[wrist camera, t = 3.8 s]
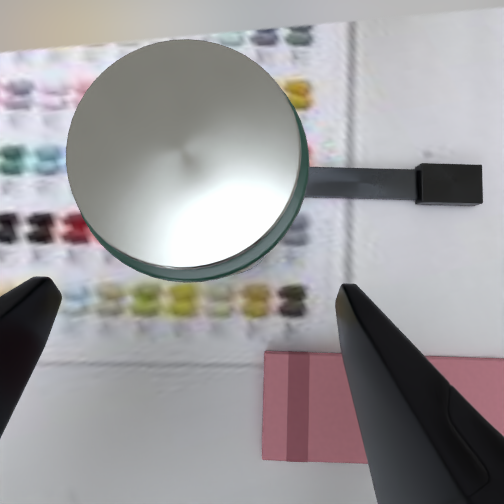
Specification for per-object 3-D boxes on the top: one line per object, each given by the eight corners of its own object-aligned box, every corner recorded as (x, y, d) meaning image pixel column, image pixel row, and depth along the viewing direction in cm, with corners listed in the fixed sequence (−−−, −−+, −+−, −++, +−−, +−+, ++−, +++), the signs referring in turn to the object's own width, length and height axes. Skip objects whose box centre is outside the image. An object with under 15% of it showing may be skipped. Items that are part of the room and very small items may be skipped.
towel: (510, 463, 18) (519, 470, 17) (261, 454, 18) (262, 461, 18) (507, 358, 18) (516, 361, 18) (264, 350, 19) (264, 353, 18)
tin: (272, 275, 19) (313, 288, 6) (186, 272, 19) (41, 279, 6) (274, 190, 19) (317, 28, 6) (190, 188, 19) (61, 22, 6)
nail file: (473, 206, 19) (483, 203, 18) (297, 201, 19) (299, 198, 18) (473, 168, 19) (482, 164, 18) (298, 164, 19) (300, 159, 19)
